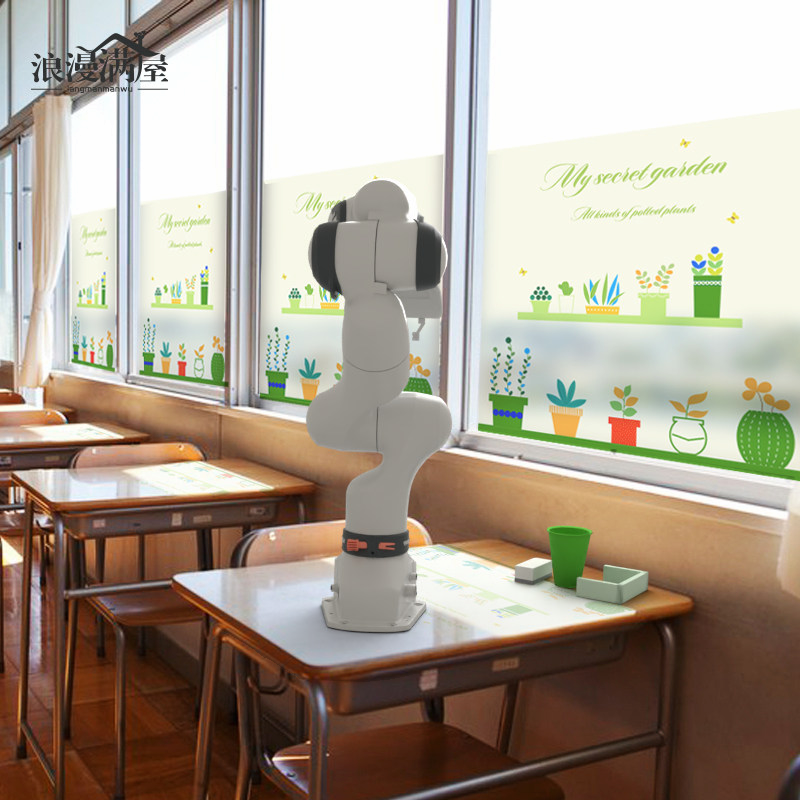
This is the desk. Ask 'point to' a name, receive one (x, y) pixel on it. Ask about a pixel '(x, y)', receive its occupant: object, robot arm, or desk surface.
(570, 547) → the cup
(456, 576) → the desk surface
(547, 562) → the eraser
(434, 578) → the desk surface
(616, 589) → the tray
